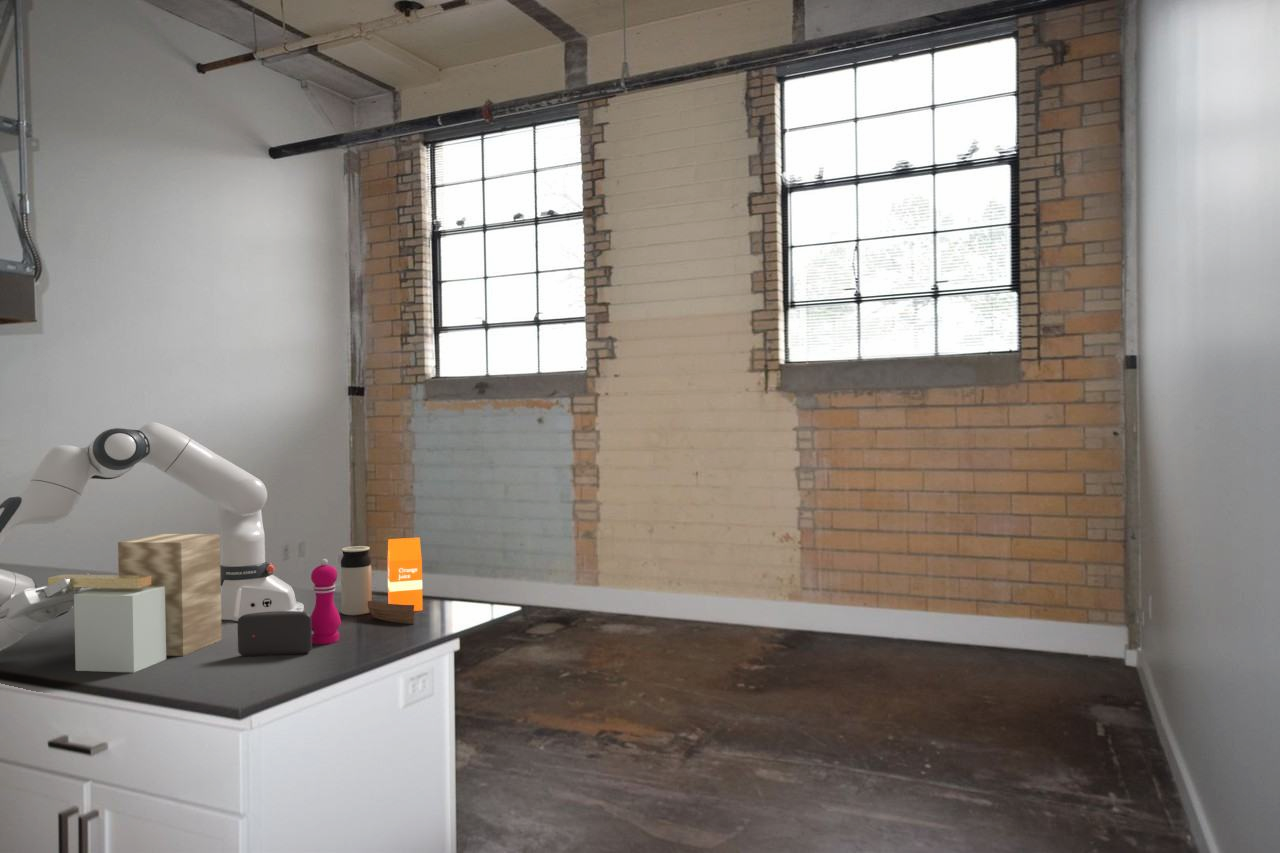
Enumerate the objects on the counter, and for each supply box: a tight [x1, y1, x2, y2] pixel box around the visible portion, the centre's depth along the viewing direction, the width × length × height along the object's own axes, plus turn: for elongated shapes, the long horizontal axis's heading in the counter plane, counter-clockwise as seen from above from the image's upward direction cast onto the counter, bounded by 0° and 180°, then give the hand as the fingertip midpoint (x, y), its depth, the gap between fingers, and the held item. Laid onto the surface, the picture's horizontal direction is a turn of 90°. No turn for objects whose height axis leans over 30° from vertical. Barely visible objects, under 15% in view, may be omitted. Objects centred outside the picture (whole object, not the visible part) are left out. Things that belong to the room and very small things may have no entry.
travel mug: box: [340, 545, 373, 616], centre depth 237 cm, size 8×8×18 cm
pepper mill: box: [310, 558, 342, 645], centre depth 207 cm, size 7×7×20 cm
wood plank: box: [368, 600, 415, 625], centre depth 226 cm, size 15×2×5 cm, turn 64°
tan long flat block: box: [47, 574, 151, 589], centre depth 189 cm, size 22×4×2 cm, turn 82°
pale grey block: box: [73, 586, 167, 673], centre depth 189 cm, size 14×10×16 cm
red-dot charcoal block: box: [237, 611, 313, 657], centre depth 197 cm, size 16×5×9 cm, turn 96°
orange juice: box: [387, 537, 423, 612], centre depth 241 cm, size 8×9×20 cm
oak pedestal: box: [117, 533, 223, 657], centre depth 203 cm, size 16×14×26 cm
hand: (78, 578), depth 190 cm, fingers closed on tan long flat block, 4 cm apart
